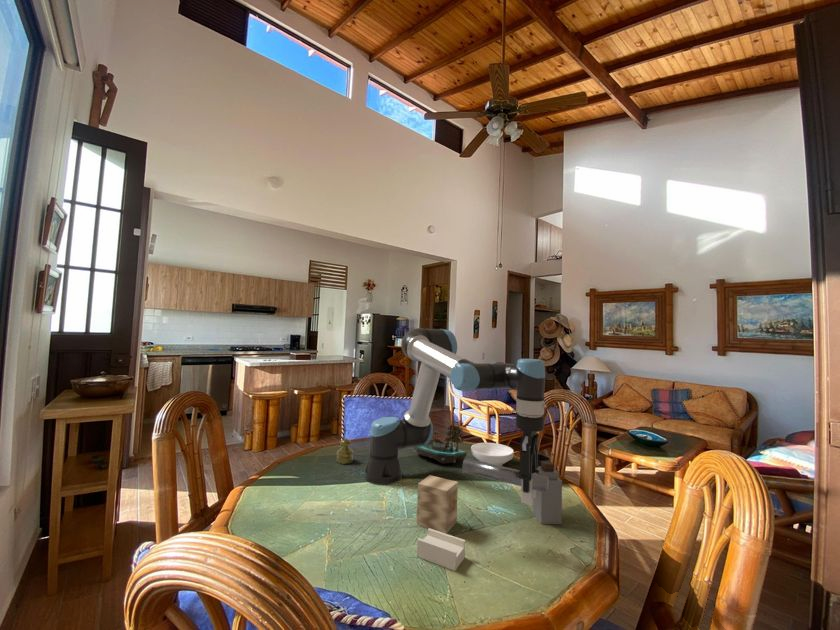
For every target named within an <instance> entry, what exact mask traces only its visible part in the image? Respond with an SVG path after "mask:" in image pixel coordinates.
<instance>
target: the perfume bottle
mask: <svg viewBox="0 0 840 630" xmlns="http://www.w3.org/2000/svg"><path fill="white" fill-rule="evenodd" d="M537 470H539V474H538V473H534V474H538V475H542V476H546V477H548V478H549V485H548V491H547V493H546V492H542V491H538V490H536V498H532V515H533V516H534V517H535V519H536V520H537V521H538V522H539V523H540V525H562V523H563V522H562V519H563V518H562V517H563V511H562V510H563V480H562V479H561V478H560V477H559V474H560V472H559V471H558V470H557V469H555V463H554V462H552V461H551V460H550V461H541V467H538V468H537Z"/></svg>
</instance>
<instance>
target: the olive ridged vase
mask: <svg viewBox="0 0 840 630" xmlns="http://www.w3.org/2000/svg"><path fill="white" fill-rule="evenodd" d="M339 443H340V445H341V447H340V448H339V449H338V450H337V451H336V463H337V462H338V463H337V464H340V463H341V464H340V465H347V464H346V463H348V464H351V463H352V462H353V461H354V456H353V455H354V450H353V449H351V448H350V447H349V445H350V444H351V443H352V440H350V439H348V438H344V439H342V440H340V441H339ZM350 462H351V463H350Z"/></svg>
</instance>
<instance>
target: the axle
mask: <svg viewBox="0 0 840 630" xmlns="http://www.w3.org/2000/svg"><path fill="white" fill-rule="evenodd" d="M461 471H462V473H465V474H470V475H474V476H478V477H482V478H487V479H489V480H493V481H494V480H495V481H497V482H502V483H506V484H510V485H513V486H519V487H522V479H520V478H519V477H518V476H520V469H516V468H512V467H506V466H503V465H502V466H498V465H494V464H489V463H485V462H481V461H479V460H475V459H472V458H467V457H464V458H463V461H462V467H461ZM531 478H532V489H534V490H538V491H542V492H546V493H547V491H548V485H549V478H548V477H546V476H542V475H538V474H533V473H532V475H531Z"/></svg>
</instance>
